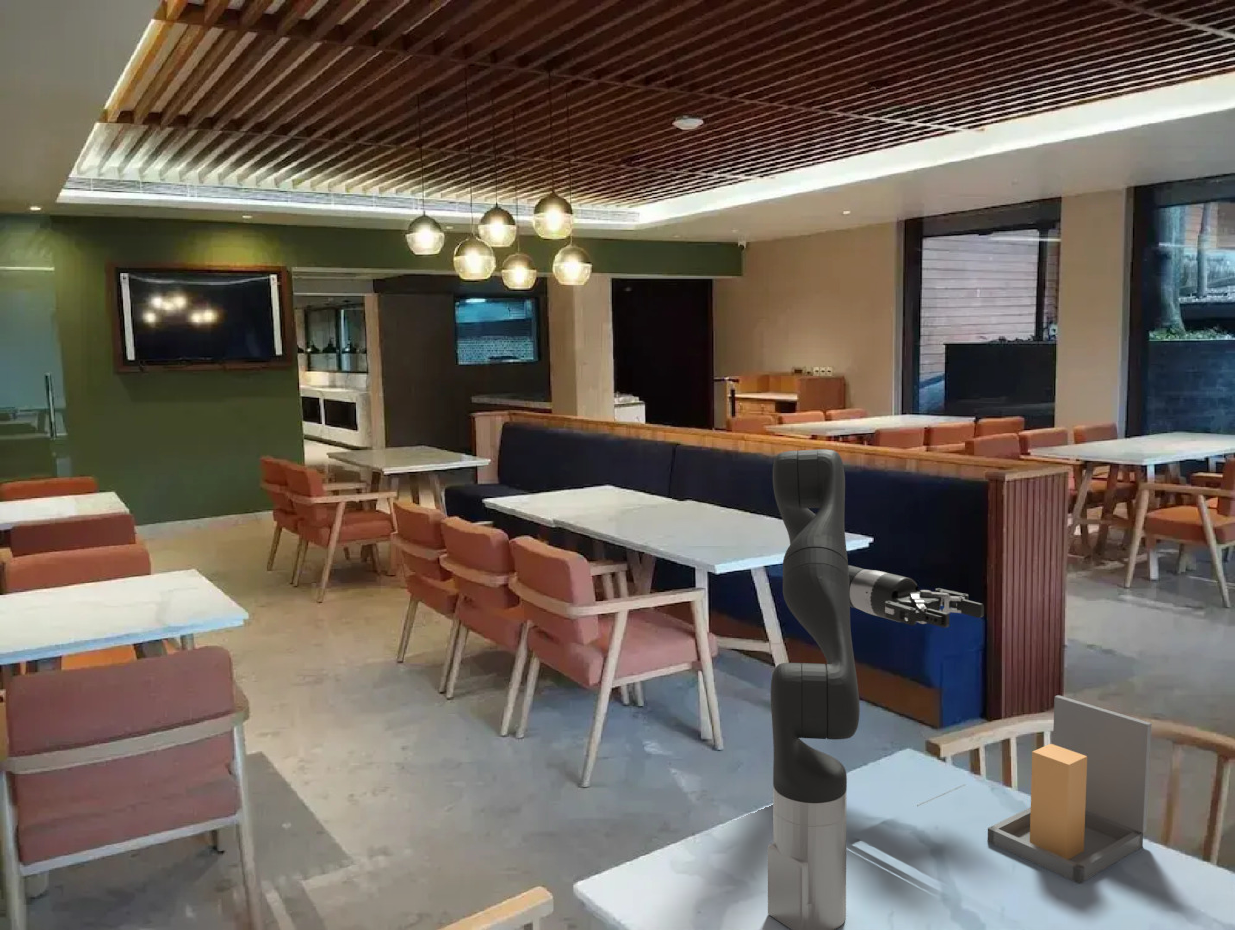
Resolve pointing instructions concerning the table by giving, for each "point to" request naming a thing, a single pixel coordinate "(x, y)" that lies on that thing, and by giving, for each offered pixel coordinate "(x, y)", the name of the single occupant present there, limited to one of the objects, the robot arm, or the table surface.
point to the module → (1058, 800)
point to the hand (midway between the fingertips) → (965, 616)
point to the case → (1094, 790)
